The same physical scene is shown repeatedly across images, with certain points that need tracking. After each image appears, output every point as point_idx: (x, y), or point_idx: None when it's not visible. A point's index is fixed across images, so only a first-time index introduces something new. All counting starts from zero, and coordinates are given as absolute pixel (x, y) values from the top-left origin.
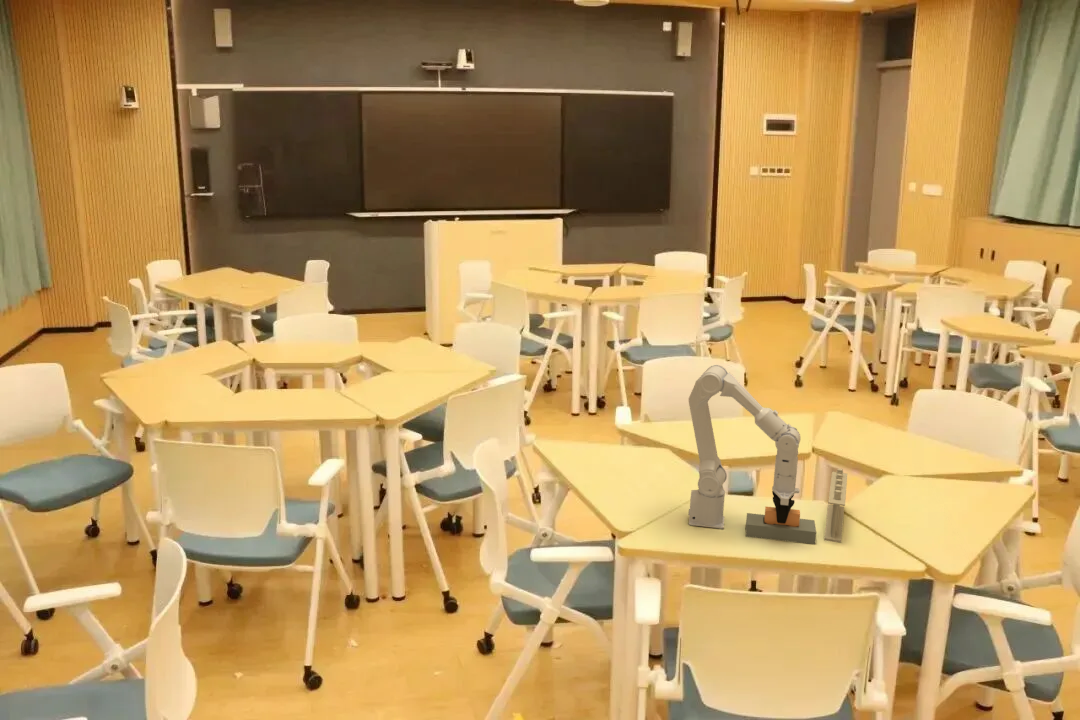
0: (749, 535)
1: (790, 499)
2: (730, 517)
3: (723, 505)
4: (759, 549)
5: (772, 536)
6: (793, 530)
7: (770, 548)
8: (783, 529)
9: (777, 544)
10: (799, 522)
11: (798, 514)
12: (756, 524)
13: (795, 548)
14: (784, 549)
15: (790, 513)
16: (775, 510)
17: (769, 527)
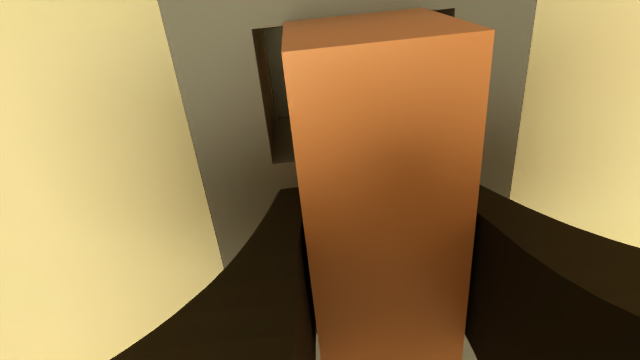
0: None
1: (297, 342)
2: None
3: None
4: (626, 242)
5: None
6: (524, 63)
7: (608, 185)
8: (508, 161)
9: (536, 148)
10: (293, 7)
11: (491, 59)
12: (466, 355)
13: (599, 6)
14: (622, 93)
15: (474, 184)
16: (421, 352)
17: None
